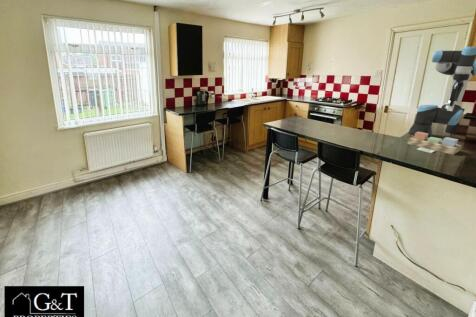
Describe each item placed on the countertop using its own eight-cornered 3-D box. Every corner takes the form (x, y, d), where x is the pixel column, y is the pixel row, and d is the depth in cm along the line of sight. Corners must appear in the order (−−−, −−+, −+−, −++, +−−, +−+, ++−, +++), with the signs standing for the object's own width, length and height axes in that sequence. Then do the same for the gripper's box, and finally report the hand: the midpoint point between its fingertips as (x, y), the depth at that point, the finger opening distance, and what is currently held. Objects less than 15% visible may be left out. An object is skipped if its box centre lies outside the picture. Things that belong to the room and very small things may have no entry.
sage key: (425, 145, 166) (428, 138, 164) (429, 143, 169) (431, 136, 167) (436, 147, 161) (438, 140, 160) (439, 146, 165) (442, 138, 163)
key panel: (407, 143, 172) (408, 138, 170) (413, 141, 179) (415, 135, 177) (453, 154, 153) (455, 148, 151) (459, 151, 160) (461, 145, 158)
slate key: (441, 145, 159) (443, 138, 157) (444, 144, 163) (446, 137, 161) (452, 148, 155) (455, 140, 153) (455, 146, 158) (458, 139, 156)
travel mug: (458, 133, 203) (467, 109, 196) (449, 133, 203) (457, 109, 196) (451, 131, 210) (459, 107, 203) (442, 130, 210) (450, 107, 203)
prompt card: (416, 149, 160) (417, 148, 160) (420, 148, 164) (420, 146, 163) (431, 153, 154) (431, 151, 154) (434, 151, 158) (435, 150, 157)
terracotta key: (413, 139, 171) (415, 132, 169) (416, 138, 174) (418, 131, 173) (423, 141, 167) (425, 134, 165) (426, 140, 170) (428, 133, 168)
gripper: (466, 74, 149) (453, 112, 158) (473, 73, 156) (459, 110, 165) (451, 73, 155) (439, 110, 164) (458, 72, 162) (446, 108, 171)
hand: (449, 110), depth 165 cm, fingers closed
